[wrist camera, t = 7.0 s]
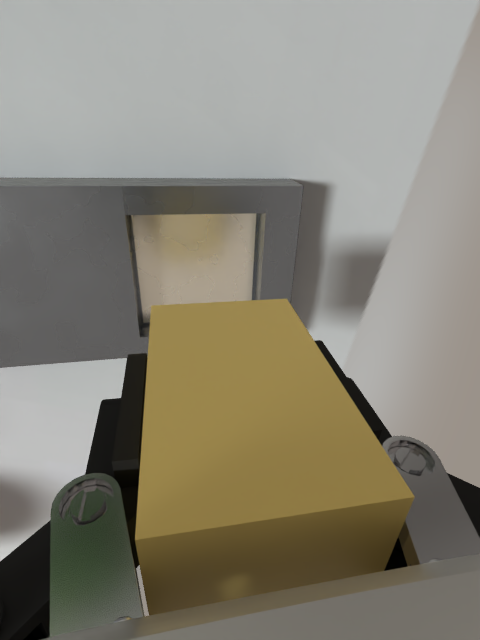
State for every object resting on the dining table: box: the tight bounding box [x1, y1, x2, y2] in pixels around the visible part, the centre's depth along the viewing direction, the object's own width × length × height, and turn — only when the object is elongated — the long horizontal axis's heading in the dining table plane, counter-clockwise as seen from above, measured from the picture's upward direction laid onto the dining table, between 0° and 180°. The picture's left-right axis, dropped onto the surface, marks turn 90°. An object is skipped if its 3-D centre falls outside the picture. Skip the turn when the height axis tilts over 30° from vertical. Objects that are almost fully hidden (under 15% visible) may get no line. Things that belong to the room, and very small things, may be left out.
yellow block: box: [135, 299, 415, 616], centre depth 10 cm, size 4×4×8 cm
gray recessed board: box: [0, 178, 303, 368], centre depth 18 cm, size 9×24×2 cm, turn 88°
